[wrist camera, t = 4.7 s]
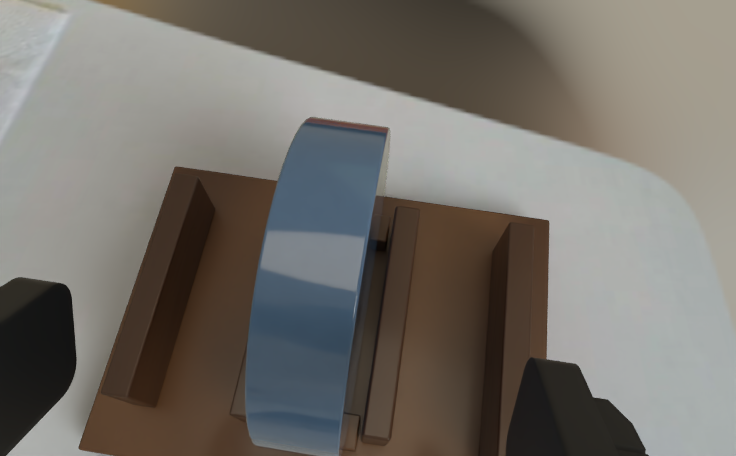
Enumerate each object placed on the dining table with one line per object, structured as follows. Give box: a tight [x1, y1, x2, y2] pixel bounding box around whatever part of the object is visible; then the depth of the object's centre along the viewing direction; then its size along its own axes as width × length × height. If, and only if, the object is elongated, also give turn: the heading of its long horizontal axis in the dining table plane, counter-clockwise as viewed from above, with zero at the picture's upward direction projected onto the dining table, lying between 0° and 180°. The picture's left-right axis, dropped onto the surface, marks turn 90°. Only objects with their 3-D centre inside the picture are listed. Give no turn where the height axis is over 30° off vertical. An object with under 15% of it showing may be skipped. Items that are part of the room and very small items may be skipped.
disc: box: [245, 117, 390, 456], centre depth 15 cm, size 2×8×8 cm, turn 171°
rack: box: [79, 167, 549, 456], centre depth 18 cm, size 14×10×4 cm
